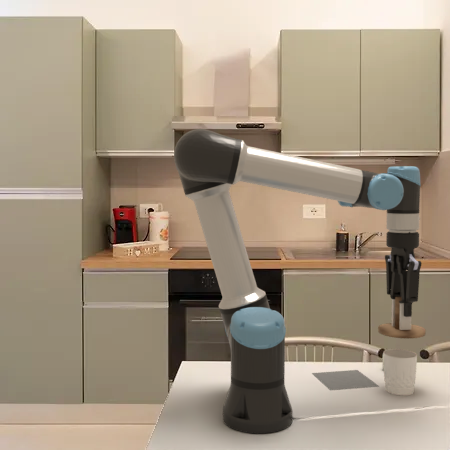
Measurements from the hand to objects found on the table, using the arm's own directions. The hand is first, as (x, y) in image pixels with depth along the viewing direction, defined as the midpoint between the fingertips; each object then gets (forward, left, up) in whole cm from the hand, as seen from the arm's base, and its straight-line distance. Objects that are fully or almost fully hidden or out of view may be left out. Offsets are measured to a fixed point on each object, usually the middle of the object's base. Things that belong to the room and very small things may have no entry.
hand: (401, 327), depth 142 cm
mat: (-10, +10, -16) cm, 22 cm away
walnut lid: (0, 0, -1) cm, 1 cm away
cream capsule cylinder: (+6, +14, -16) cm, 22 cm away
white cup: (0, 0, -17) cm, 17 cm away
